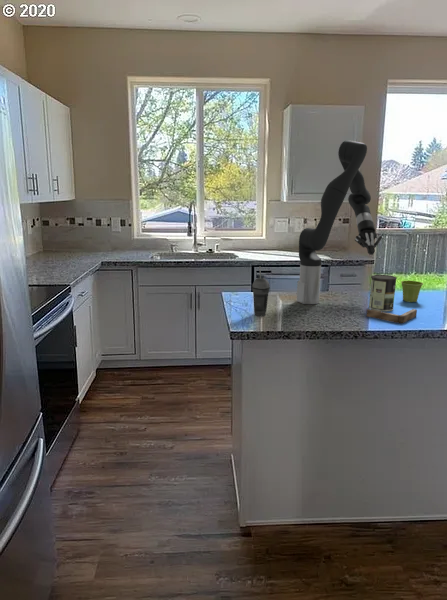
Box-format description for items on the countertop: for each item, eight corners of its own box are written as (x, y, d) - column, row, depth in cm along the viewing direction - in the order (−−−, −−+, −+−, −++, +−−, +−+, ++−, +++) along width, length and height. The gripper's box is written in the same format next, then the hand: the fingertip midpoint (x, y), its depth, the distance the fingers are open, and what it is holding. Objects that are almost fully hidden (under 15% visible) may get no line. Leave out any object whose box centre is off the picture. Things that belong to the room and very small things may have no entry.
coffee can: (391, 306, 201) (394, 275, 198) (395, 312, 192) (398, 279, 188) (367, 304, 203) (370, 273, 200) (369, 310, 194) (372, 278, 190)
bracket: (365, 315, 187) (366, 308, 186) (415, 315, 187) (415, 308, 187) (374, 323, 176) (375, 316, 175) (427, 323, 177) (428, 316, 176)
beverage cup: (257, 318, 181) (258, 269, 176) (247, 313, 188) (249, 265, 182) (272, 316, 185) (274, 267, 180) (262, 311, 191) (264, 264, 186)
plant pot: (418, 304, 205) (421, 285, 202) (397, 301, 209) (399, 283, 207) (422, 300, 212) (424, 282, 210) (401, 297, 217) (403, 279, 215)
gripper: (353, 219, 214) (359, 248, 205) (381, 219, 214) (388, 248, 205) (349, 229, 220) (355, 258, 211) (376, 229, 220) (383, 258, 212)
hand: (371, 253), depth 208 cm, fingers closed
